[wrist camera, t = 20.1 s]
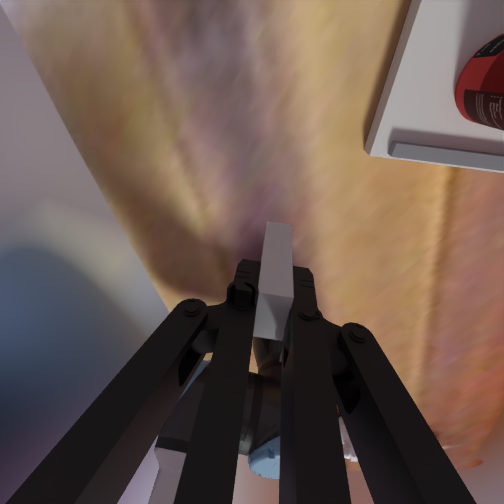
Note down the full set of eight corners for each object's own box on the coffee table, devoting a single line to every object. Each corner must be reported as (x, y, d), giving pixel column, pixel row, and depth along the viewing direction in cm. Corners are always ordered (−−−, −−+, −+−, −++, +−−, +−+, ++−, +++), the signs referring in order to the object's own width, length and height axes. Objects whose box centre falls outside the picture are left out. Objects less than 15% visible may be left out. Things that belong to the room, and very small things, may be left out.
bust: (367, 411, 74) (379, 435, 63) (368, 439, 74) (381, 469, 63) (322, 408, 76) (327, 432, 65) (324, 436, 76) (328, 465, 65)
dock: (503, 167, 35) (562, 193, 27) (363, 149, 35) (383, 170, 28) (626, -29, 24) (773, -73, 17) (427, -49, 25) (485, -100, 18)
